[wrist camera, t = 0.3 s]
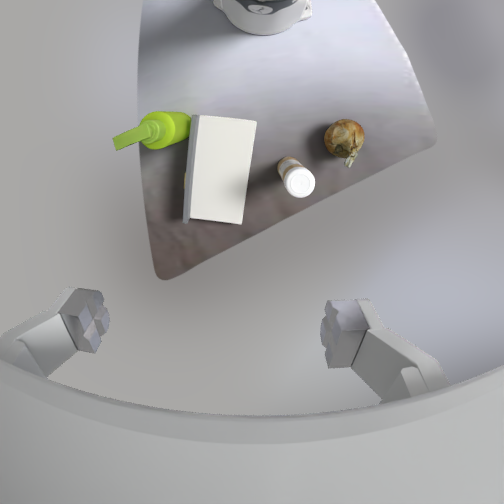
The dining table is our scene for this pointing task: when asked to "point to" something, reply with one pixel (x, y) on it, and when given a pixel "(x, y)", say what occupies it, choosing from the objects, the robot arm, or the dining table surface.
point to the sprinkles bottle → (296, 177)
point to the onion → (344, 140)
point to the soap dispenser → (157, 130)
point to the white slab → (217, 168)
